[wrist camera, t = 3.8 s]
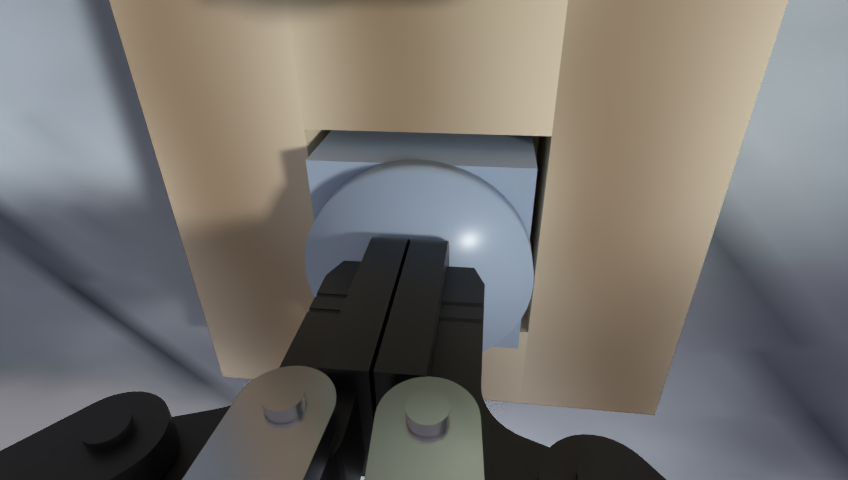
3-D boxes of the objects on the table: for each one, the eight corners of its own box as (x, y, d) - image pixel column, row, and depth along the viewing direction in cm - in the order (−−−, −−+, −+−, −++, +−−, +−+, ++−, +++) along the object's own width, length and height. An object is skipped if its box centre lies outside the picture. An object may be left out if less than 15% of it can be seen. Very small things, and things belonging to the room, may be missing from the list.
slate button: (534, 119, 11) (546, 177, 9) (518, 285, 14) (522, 371, 11) (336, 115, 12) (288, 167, 9) (353, 275, 14) (319, 354, 12)
